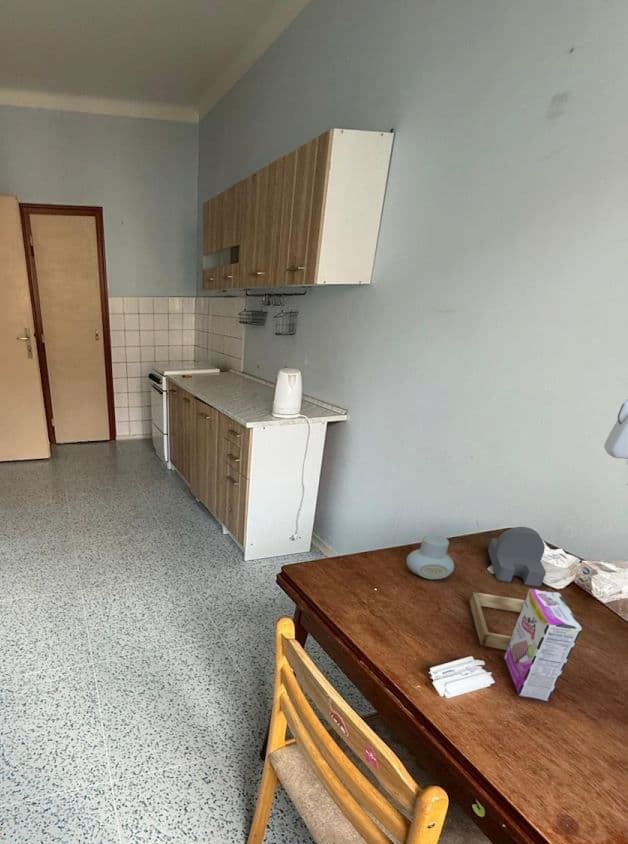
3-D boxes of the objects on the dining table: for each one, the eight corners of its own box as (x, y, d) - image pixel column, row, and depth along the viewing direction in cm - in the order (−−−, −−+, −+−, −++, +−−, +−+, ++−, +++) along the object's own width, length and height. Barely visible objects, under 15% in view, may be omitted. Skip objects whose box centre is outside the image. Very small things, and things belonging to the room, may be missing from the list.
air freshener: (446, 567, 125) (455, 533, 120) (454, 583, 118) (465, 548, 113) (401, 563, 127) (409, 530, 122) (407, 579, 120) (416, 544, 115)
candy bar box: (501, 656, 94) (528, 587, 86) (530, 662, 92) (560, 591, 84) (516, 696, 84) (548, 622, 77) (549, 703, 83) (585, 628, 75)
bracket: (527, 554, 130) (540, 518, 125) (542, 587, 116) (557, 548, 110) (487, 548, 134) (498, 513, 128) (496, 579, 119) (509, 541, 114)
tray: (527, 612, 107) (531, 601, 105) (547, 658, 93) (553, 646, 92) (469, 602, 111) (472, 591, 109) (480, 645, 97) (484, 633, 96)
